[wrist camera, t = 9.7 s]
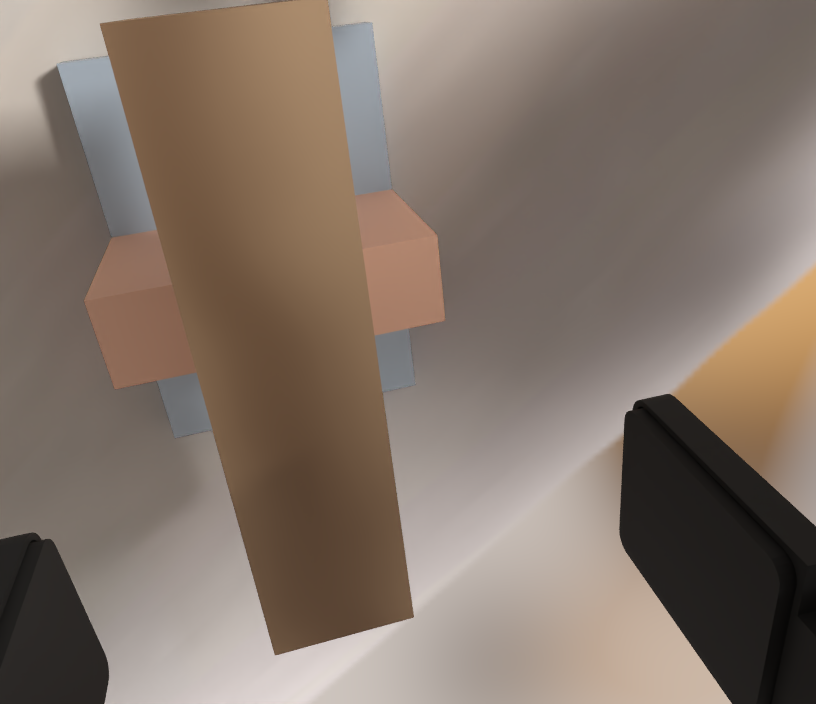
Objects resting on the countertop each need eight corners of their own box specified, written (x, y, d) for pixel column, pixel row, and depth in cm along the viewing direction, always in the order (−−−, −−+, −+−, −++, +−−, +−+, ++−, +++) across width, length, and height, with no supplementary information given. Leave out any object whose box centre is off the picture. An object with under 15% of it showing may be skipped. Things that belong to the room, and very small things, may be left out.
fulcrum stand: (366, 22, 24) (418, 27, 18) (409, 374, 31) (458, 465, 25) (62, 61, 23) (7, 82, 17) (176, 425, 29) (166, 536, 23)
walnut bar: (297, -1, 17) (326, -3, 13) (378, 509, 25) (413, 617, 20) (129, 19, 17) (99, 23, 12) (263, 537, 24) (275, 655, 20)
